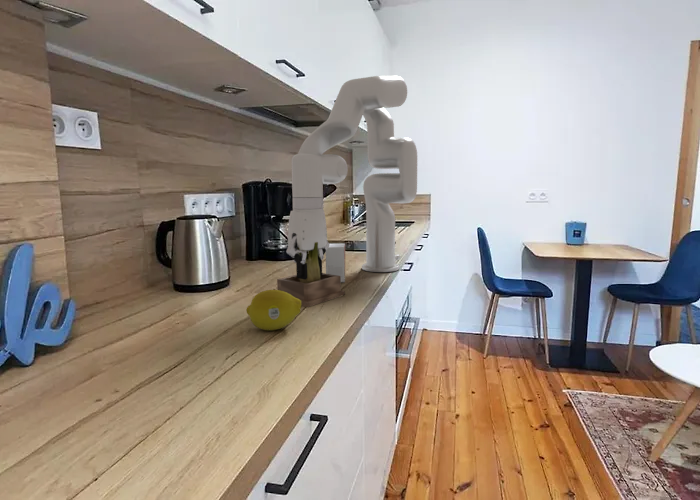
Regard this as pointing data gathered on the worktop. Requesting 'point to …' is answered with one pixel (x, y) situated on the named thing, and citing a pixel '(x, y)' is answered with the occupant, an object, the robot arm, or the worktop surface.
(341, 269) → the small box
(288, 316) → the lemon
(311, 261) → the fennel bulb
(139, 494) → the worktop surface
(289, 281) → the open wooden box
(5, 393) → the worktop surface
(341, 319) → the worktop surface
